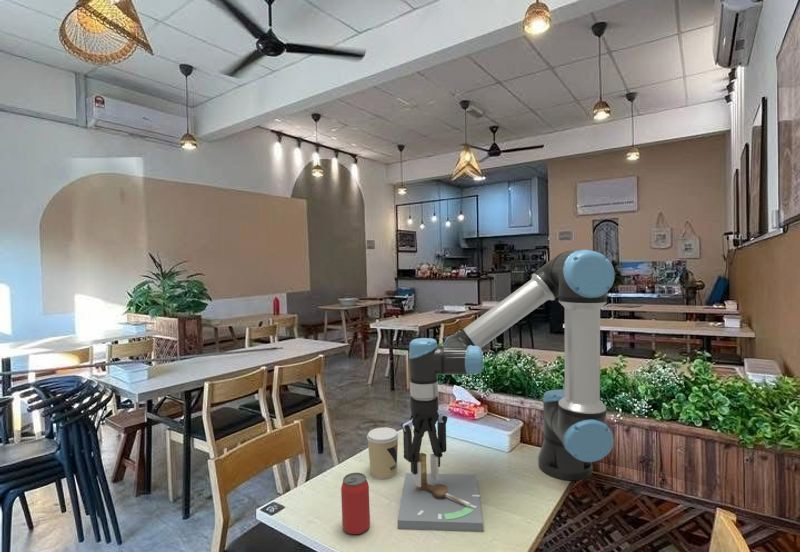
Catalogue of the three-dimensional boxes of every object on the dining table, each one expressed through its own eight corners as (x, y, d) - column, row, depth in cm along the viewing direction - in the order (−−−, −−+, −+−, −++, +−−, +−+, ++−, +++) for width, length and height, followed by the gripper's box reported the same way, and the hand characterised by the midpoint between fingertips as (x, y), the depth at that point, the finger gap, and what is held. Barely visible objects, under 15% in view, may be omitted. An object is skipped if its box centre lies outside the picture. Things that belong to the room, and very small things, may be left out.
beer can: (337, 527, 102) (335, 478, 101) (358, 515, 106) (356, 468, 106) (354, 540, 97) (352, 488, 96) (375, 526, 101) (374, 477, 101)
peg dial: (473, 502, 106) (473, 469, 105) (465, 510, 103) (464, 475, 102) (423, 481, 117) (422, 450, 116) (413, 487, 114) (412, 456, 113)
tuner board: (476, 481, 120) (476, 473, 120) (484, 531, 98) (484, 522, 98) (405, 479, 122) (405, 472, 122) (397, 528, 100) (397, 519, 100)
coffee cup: (395, 481, 121) (394, 440, 121) (364, 479, 123) (363, 438, 123) (402, 465, 131) (400, 427, 130) (372, 463, 133) (371, 426, 132)
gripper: (443, 387, 121) (445, 467, 122) (388, 398, 113) (390, 484, 113) (459, 394, 115) (461, 479, 115) (402, 406, 106) (404, 497, 107)
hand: (426, 481), depth 114 cm, fingers open, 5 cm apart
